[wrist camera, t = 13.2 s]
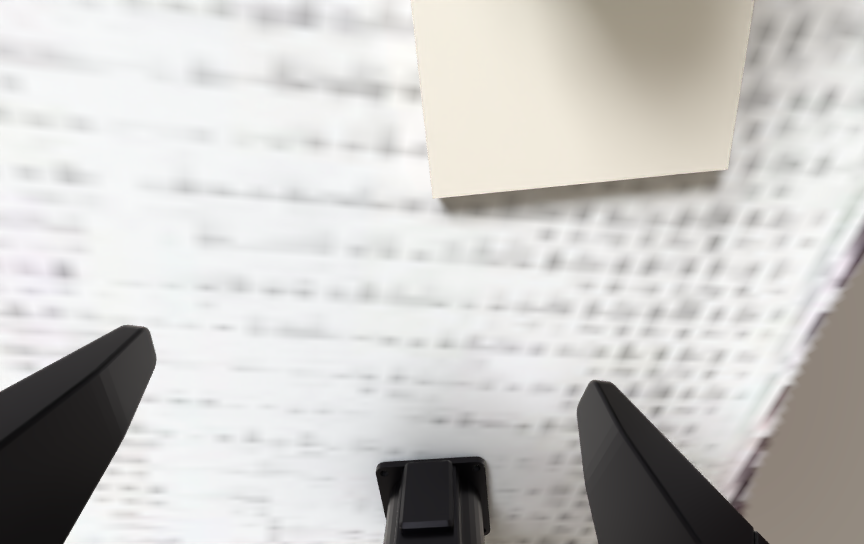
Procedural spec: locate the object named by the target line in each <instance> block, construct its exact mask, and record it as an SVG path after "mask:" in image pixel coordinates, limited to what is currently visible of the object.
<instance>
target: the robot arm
mask: <svg viewBox="0 0 864 544" xmlns="http://www.w3.org/2000/svg"><path fill="white" fill-rule="evenodd" d="M155 365H156V353H155V349H154V345H153V342H152V338H151V334H150V331H149V330H148V329H147V328H146V327H142V326H133V325H124V326H121V327H119V328H117V329H115V330H113V331H111V332H110V333H108V334H106V335H104V336H102V337H100V338H98V339H97V340H95V341H93V342H91V343H89V344H87V345H86V346H84V347H82V348H80V349H78V350H76V351H74V352H73V353H71V354H69V355H67V356H65V357H63V358H62V359H60V360H58V361H56V362H54V363H52V364H50V365H49V366H47V367H45V368H43V369H41V370H39V371H38V372H36V373H34V374H32V375H30V376H28V377H26V378H25V379H23V380H21V381H19V382H17V383H15V384H14V385H12V386H10V387H8V388H6V389H4V390H2V391H1V392H0V544H63V543H64V542H65V540H66V538H67V537H68V535H69V533H70V531H71V530H72V528H73V526H74V524H75V523H76V521H77V519H78V517H79V516H80V514H81V512H82V510H83V509H84V507H85V505H86V504H87V502H88V500H89V498H90V497H91V495H92V493H93V491H94V490H95V488H96V486H97V484H98V483H99V481H100V479H101V477H102V476H103V474H104V472H105V471H106V469H107V467H108V465H109V464H110V462H111V460H112V458H113V457H114V455H115V453H116V451H117V450H118V448H119V446H120V444H121V442H122V440H123V439H124V436H125V434H126V432H127V430H128V428H129V426H130V424H131V421H132V419H133V417H134V414H135V412H136V410H137V408H138V405H139V403H140V401H141V398H142V396H143V394H144V392H145V389H146V387H147V385H148V382H149V380H150V378H151V376H152V373H153V371H154V369H155ZM577 420H578V429H579V437H580V446H581V454H582V463H583V471H584V479H585V485H586V490H587V495H588V500H589V504H590V508H591V513H592V517H593V522H594V526H595V530H596V535H597V539H598V543H599V544H769V543H768V542H767V541H766V540H765V539H764V538H763V537H762V536H761V535H760V534H759V533H758V532H757V531H754V530H753V527H752V526H751V525H750V524H749V523H748V522H747V521H746V520H745V518H744V517H743V516H742V515H741V514H740V513H739V512H738V511H737V510H736V509H735V508H734V507H733V506H732V505H731V504H730V503H729V502H728V501H727V500H726V499H725V498H724V497H723V496H722V495H721V494H720V493H719V492H718V491H717V490H716V489H715V488H714V487H713V486H712V485H711V484H710V483H709V481H708V480H707V479H706V478H705V477H704V476H703V475H702V474H701V473H700V472H699V471H698V470H697V469H696V468H695V467H694V466H693V465H692V464H691V463H690V462H689V461H688V460H687V459H686V458H685V457H684V456H683V455H682V454H681V453H680V452H679V451H678V450H677V449H676V448H675V447H674V445H673V444H672V443H671V442H670V441H669V440H668V439H667V438H666V437H665V436H664V435H663V434H662V433H661V432H660V431H659V430H658V429H657V428H656V427H655V426H654V425H653V424H652V423H651V422H650V421H649V420H648V419H647V418H646V417H645V416H644V415H643V414H642V413H641V412H640V411H639V410H638V408H637V407H636V406H635V405H634V404H633V403H632V402H631V401H630V400H629V399H628V398H627V397H626V396H625V395H624V394H623V393H622V392H621V391H620V390H619V389H618V388H617V387H616V386H615V385H614V384H613V383H611V382H608V381H600V380H592V381H591V382H590V383H589V384H588V386H587V388H586V390H585V392H584V394H583V396H582V398H581V400H580V402H579V404H578V407H577ZM474 465H478V466H474ZM376 476H377V481H378V485H379V490H380V495H381V499H382V504H383V508H384V513H385V517H386V527H385V535H384V543H383V544H485V543H484V535H487V534H488V533H489V532H490V523H489V511H488V499H487V487H486V475H485V464H484V460H483V459H482V458H480V457H461V458H444V459H428V460H412V461H395V462H382V463H380V464H378V466H377V469H376Z"/></svg>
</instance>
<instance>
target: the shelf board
mask: <svg viewBox="0 0 864 544" xmlns="http://www.w3.org/2000/svg"><path fill="white" fill-rule="evenodd" d="M754 1H755V0H411V8H412V17H413V26H414V35H415V44H416V53H417V62H418V71H419V80H420V89H421V98H422V107H423V116H424V124H425V133H426V142H427V151H428V160H429V169H430V178H431V187H432V196H433V199H435V198H445V197H455V196H465V195H475V194H485V193H495V192H505V191H515V190H525V189H536V188H546V187H556V186H566V185H576V184H586V183H596V182H606V181H616V180H626V179H636V178H646V177H656V176H667V175H677V174H687V173H697V172H707V171H717V170H727V169H728V165H729V158H730V152H731V146H732V139H733V133H734V127H735V121H736V114H737V108H738V102H739V96H740V89H741V83H742V77H743V70H744V64H745V58H746V52H747V45H748V39H749V33H750V26H751V20H752V14H753V8H754Z"/></svg>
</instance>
